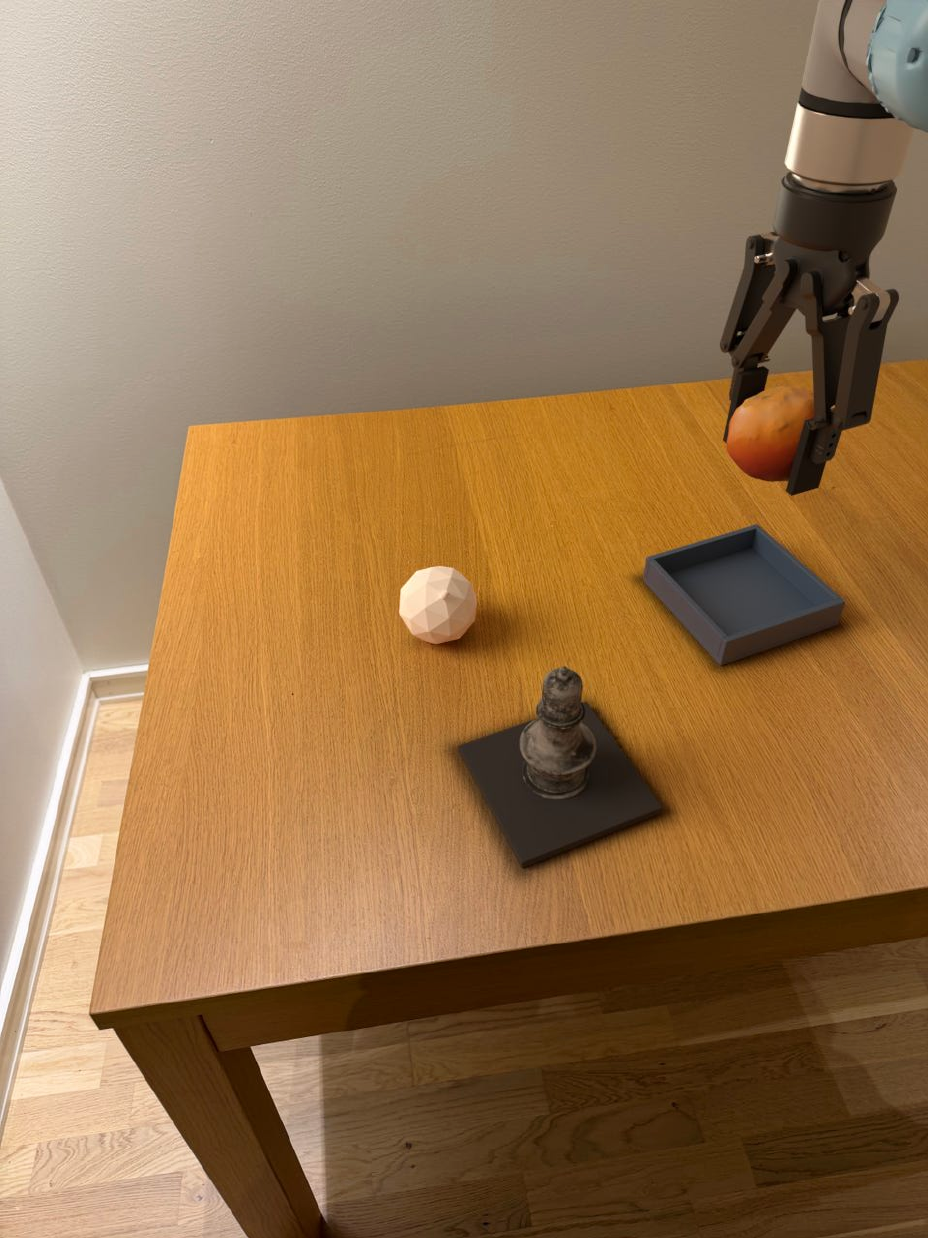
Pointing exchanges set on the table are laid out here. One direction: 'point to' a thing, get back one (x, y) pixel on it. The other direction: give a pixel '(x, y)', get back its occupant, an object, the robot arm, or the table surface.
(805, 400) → the fruit
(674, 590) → the tray
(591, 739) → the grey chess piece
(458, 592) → the ornament
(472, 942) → the table surface
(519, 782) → the mat
